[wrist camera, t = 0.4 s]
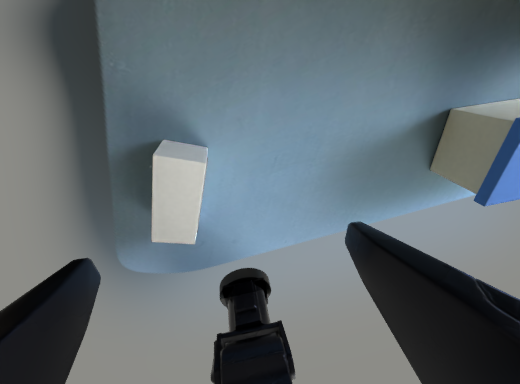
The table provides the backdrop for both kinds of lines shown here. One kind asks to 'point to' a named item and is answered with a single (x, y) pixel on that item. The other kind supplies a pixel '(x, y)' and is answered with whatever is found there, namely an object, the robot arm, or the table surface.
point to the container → (482, 151)
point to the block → (177, 191)
